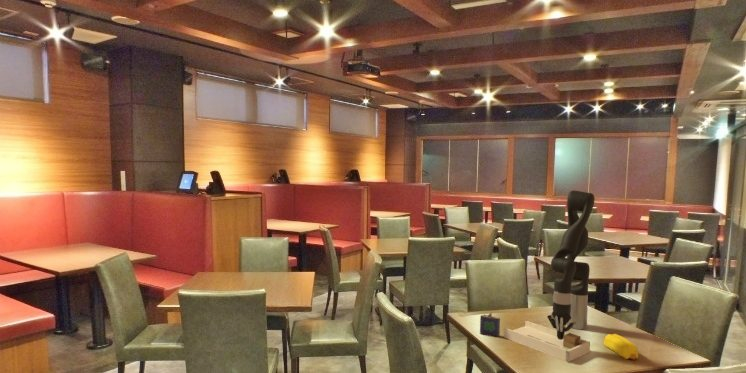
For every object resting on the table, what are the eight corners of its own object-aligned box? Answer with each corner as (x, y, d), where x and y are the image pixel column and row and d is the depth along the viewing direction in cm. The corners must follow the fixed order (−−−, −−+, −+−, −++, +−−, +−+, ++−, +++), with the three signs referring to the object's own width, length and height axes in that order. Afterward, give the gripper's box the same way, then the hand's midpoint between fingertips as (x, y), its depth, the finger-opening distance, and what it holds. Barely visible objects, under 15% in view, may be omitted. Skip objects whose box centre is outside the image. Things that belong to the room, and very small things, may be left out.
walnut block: (569, 343, 199) (569, 332, 199) (580, 347, 195) (580, 336, 195) (563, 346, 196) (563, 335, 196) (574, 350, 192) (574, 338, 192)
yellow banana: (626, 362, 186) (643, 361, 187) (627, 346, 186) (643, 346, 187) (599, 344, 204) (614, 344, 205) (599, 330, 204) (615, 330, 205)
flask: (499, 335, 212) (500, 313, 212) (499, 337, 210) (499, 315, 209) (480, 332, 216) (480, 310, 215) (479, 334, 213) (479, 312, 213)
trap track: (526, 329, 221) (526, 320, 220) (589, 351, 195) (590, 341, 195) (503, 337, 210) (504, 328, 210) (567, 362, 184) (568, 351, 184)
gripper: (580, 303, 197) (578, 341, 197) (552, 296, 207) (551, 332, 208) (571, 306, 192) (570, 345, 193) (544, 299, 202) (542, 336, 203)
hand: (560, 338), depth 200 cm, fingers closed
